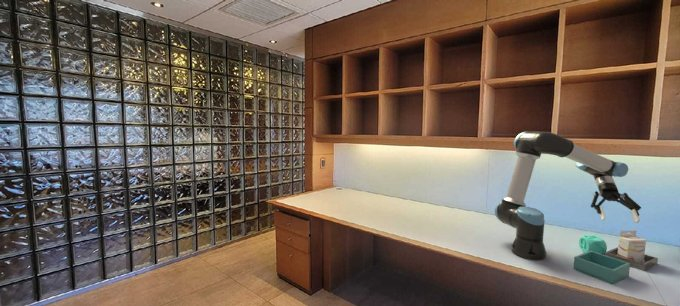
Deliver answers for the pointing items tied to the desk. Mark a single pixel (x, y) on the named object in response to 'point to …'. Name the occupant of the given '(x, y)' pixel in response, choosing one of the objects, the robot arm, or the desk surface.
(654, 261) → the socket collar
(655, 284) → the desk surface
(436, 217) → the desk surface
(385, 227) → the desk surface
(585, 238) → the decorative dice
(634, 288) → the desk surface
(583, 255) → the teal bin
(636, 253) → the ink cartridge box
